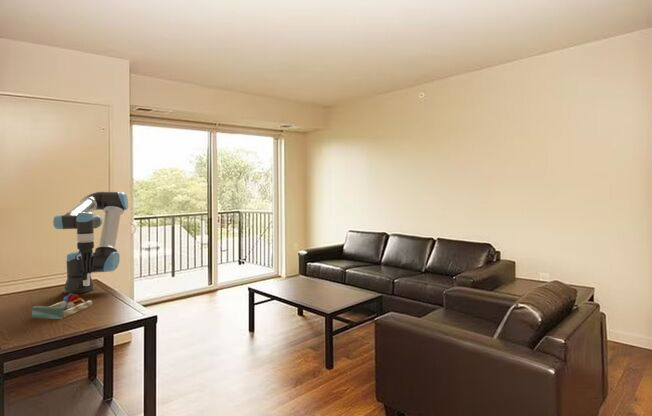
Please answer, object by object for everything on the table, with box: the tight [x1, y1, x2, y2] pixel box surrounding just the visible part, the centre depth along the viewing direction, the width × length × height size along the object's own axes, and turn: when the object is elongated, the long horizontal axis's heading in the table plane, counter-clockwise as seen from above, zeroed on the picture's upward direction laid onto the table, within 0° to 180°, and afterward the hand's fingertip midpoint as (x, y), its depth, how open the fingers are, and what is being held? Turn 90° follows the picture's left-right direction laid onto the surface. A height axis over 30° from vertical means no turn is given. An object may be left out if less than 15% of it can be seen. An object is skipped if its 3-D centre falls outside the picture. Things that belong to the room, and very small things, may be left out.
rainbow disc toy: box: [60, 293, 85, 310], centre depth 194 cm, size 8×10×7 cm
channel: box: [31, 300, 93, 320], centre depth 189 cm, size 21×14×5 cm
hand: (86, 285), depth 204 cm, fingers closed
